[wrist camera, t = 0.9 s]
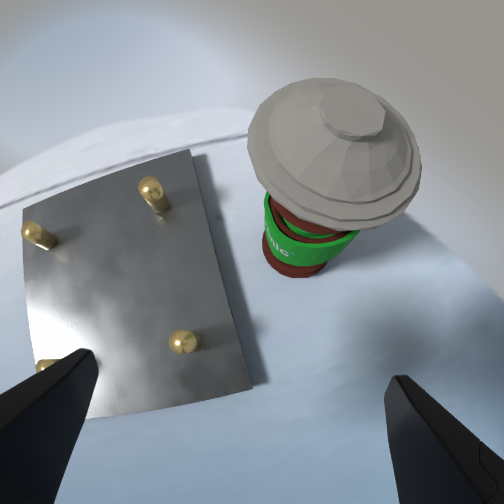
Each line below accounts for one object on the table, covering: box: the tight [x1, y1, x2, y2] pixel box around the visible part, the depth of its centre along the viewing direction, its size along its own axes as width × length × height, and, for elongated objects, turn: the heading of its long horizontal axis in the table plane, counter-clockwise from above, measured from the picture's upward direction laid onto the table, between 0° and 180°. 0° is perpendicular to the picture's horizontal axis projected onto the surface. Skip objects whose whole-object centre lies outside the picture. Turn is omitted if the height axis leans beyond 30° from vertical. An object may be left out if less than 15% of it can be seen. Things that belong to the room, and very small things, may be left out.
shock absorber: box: [247, 78, 422, 278], centre depth 16 cm, size 6×6×15 cm
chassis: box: [21, 149, 253, 419], centre depth 20 cm, size 18×16×4 cm
